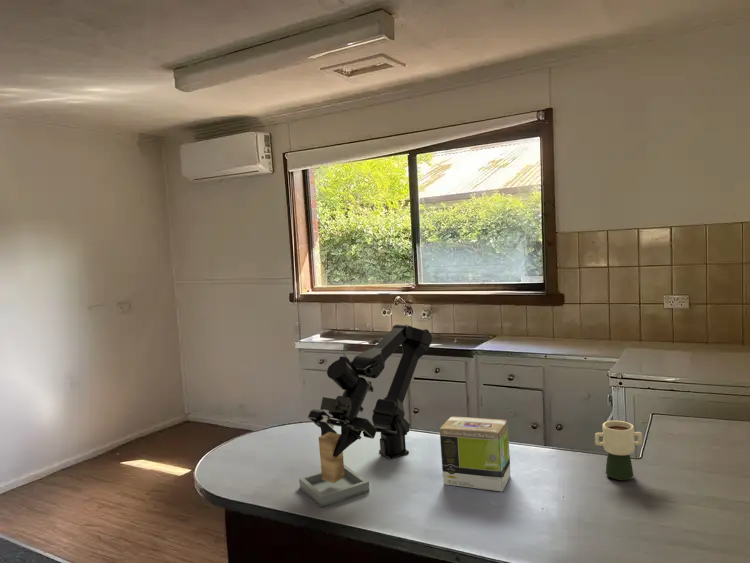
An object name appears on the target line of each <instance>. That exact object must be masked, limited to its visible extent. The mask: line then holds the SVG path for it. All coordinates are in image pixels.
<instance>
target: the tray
mask: <svg viewBox="0 0 750 563" xmlns="http://www.w3.org/2000/svg"><path fill="white" fill-rule="evenodd" d="M344 474H345V477H344V478H342V479H340V480H339V481H337V482H335V483H332V482H328V481H325V480H322V472H321V471H318V472H316V473H311V474H309V475H305V476H302V477H299V488H300V489H301V490H302V491H303V492H304V493H306V495H307V496H308V497H310V498H311V500H313V501H314V502H315V503H316V504H317V505H318V506H319V507H320V508H324V507H327V506H331V505H333V504H336V503H340V502H343V501H345V500H347V499H351V498H354V497H357V496H360V495H363V494H367V493H369V492H370V483H369V481H368V480H367V479H366V478H364V477H363V476H361V475H359V474H358V473H357V472H355V470H353V469H351V468H350V467H349V466H347V465H345V464H344Z"/></svg>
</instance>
